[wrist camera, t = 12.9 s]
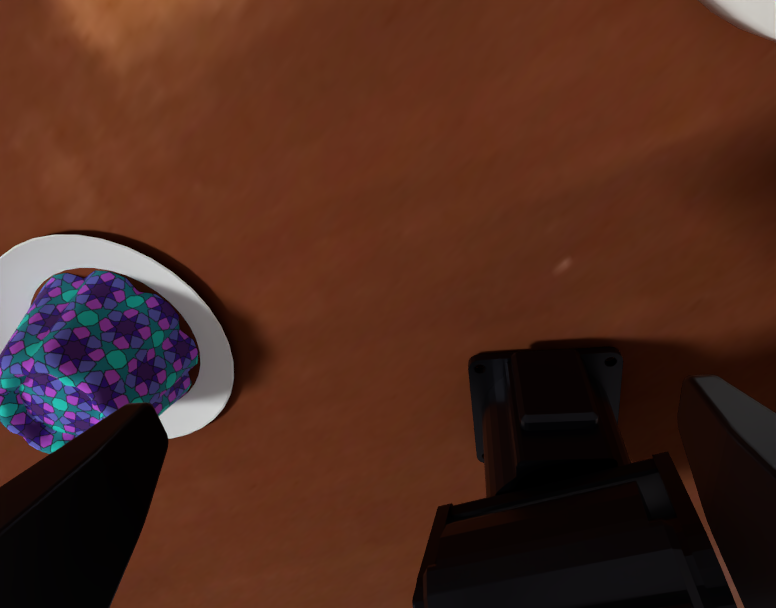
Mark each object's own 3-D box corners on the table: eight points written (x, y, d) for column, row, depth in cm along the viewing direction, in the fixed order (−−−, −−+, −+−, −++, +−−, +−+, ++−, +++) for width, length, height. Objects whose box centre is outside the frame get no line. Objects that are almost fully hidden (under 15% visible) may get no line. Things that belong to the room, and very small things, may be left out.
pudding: (-6, 182, 23) (-116, 236, 18) (268, 291, 24) (226, 365, 20) (-7, 380, 29) (-89, 456, 25) (210, 457, 31) (169, 541, 26)
